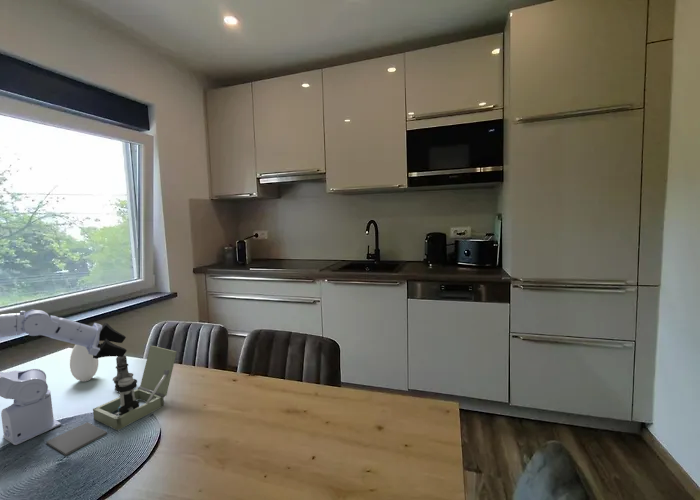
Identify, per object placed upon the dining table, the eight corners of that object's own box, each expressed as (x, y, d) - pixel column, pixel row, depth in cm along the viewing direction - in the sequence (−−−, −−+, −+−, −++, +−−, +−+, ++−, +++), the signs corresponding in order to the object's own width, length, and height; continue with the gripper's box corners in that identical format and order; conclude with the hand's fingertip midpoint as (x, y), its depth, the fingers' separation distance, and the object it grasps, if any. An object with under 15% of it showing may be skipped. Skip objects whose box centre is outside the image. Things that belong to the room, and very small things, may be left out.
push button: (119, 422, 92) (116, 388, 91) (108, 418, 95) (105, 384, 94) (143, 410, 98) (140, 377, 97) (132, 406, 101) (129, 374, 100)
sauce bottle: (76, 378, 120) (70, 329, 119) (102, 373, 124) (97, 326, 122) (68, 387, 113) (63, 336, 112) (96, 382, 117) (91, 332, 115)
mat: (65, 455, 80) (65, 453, 80) (46, 443, 84) (46, 441, 84) (107, 433, 88) (107, 431, 88) (87, 423, 92) (87, 422, 92)
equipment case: (117, 430, 89) (112, 375, 87) (93, 419, 94) (88, 367, 93) (180, 397, 105) (176, 350, 104) (157, 389, 111) (153, 344, 109)
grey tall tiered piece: (126, 391, 110) (123, 356, 109) (109, 391, 110) (105, 356, 109) (138, 382, 116) (135, 349, 115) (121, 382, 116) (118, 349, 115)
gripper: (81, 334, 90) (133, 348, 98) (84, 309, 101) (131, 324, 109) (65, 356, 89) (118, 368, 98) (70, 328, 100) (117, 342, 109)
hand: (124, 346), depth 104 cm, fingers open, 7 cm apart
